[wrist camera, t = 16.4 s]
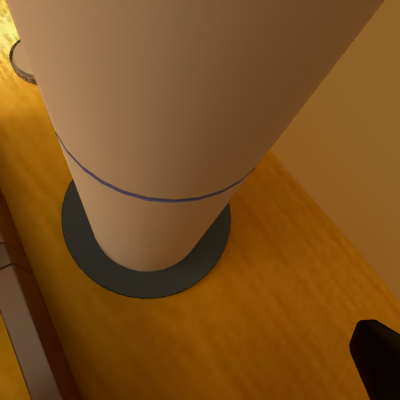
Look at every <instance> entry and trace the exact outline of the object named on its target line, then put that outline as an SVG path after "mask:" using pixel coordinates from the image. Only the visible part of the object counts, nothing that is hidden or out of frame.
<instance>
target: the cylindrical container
mask: <svg viewBox="0 0 400 400" xmlns="http://www.w3.org/2000/svg"><path fill="white" fill-rule="evenodd" d="M6 2H7V5H8V8H9V10H10V13H11V16H12V18H13V21H14V24H15V26H16V29H17V32H18V34H19V37H20V40H21V42H22V45H23V48H24V50H25V53H26V56H27V58H28V61H29V63H30V66H31V69H32V71H33V74H34V77H35V79H36V82H37V85H38V87H39V90H40V93H41V95H42V98H43V101H44V103H45V106H46V109H47V111H48V114H49V117H50V119H51V122H52V125H53V127H54V129H55V132H56V135H57V138H58V141H59V143H60V146H61V148H62V151H63V154H64V156H65V159H66V162H67V164H68V167H69V170H70V172H71V175H72V177H73V180H74V183H75V185H76V188H77V191H78V193H79V196H80V198H81V201H82V204H83V206H84V209H85V212H86V214H87V217H88V220H89V222H90V225H91V228H92V230H93V233H94V236H95V239H96V241H97V242H98V244H99V246H100V247H101V249H102V250H103V251H104V253H105V254H106V255H107V256H108V257H109V258H110V259H112V260H113V261H115V262H116V263H117V264H119V265H121V266H123V267H126V268H128V269H132V270H136V271H146V272H151V271H158V270H163V269H166V268H168V267H171V266H173V265H175V264H176V263H178V262H180V261H181V260H183V259H184V258H185V257H186V256H187V255H188V254H189V253H190V252H191V250H192V249H193V248H194V246H195V245H196V244H197V243H198V241H199V240H200V239H201V237H202V236H203V235H204V233H205V232H206V231H207V229H208V228H209V227H210V226H211V224H212V223H213V222H214V220H215V219H216V218H217V217H218V215H219V214H220V213H221V211H222V210H223V209H224V208H225V206H226V205H227V204H228V202H229V201H230V200H231V199H232V197H233V196H234V195H235V193H236V192H237V191H238V190H239V188H240V187H241V186H242V184H243V183H244V182H245V181H246V179H247V178H248V177H249V175H250V174H251V173H252V172H253V170H254V169H255V167H256V166H257V165H258V164H259V162H260V161H261V160H262V159H263V157H264V156H265V155H266V153H267V152H268V151H269V149H270V148H271V147H272V146H273V144H274V143H275V142H276V140H277V139H278V138H279V137H280V135H281V134H282V133H283V131H284V130H285V129H286V127H287V126H288V125H289V124H290V122H291V121H292V120H293V118H294V117H295V116H296V114H297V113H298V112H299V111H300V109H301V108H302V107H303V105H304V104H305V103H306V101H307V100H308V99H309V97H310V96H311V95H312V94H313V92H314V91H315V90H316V88H317V87H318V86H319V85H320V83H321V82H322V81H323V79H324V78H325V77H326V76H327V74H328V73H329V72H330V70H331V69H332V68H333V66H334V65H335V64H336V62H337V61H338V60H339V59H340V57H341V56H342V55H343V54H344V52H345V51H346V50H347V48H348V47H349V46H350V44H351V43H352V42H353V41H354V39H355V38H356V37H357V35H358V34H359V33H360V31H361V30H362V29H363V28H364V26H365V25H366V24H367V22H368V21H369V20H370V19H371V17H372V16H373V15H374V13H375V12H376V11H377V9H378V8H379V7H380V5H381V4H382V3H383V2H384V0H6Z"/></svg>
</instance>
